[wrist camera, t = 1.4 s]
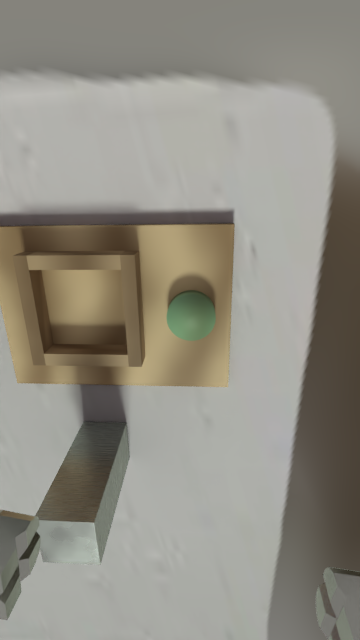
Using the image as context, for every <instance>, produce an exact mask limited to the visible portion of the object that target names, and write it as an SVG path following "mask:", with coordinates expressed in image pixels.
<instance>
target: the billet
mask: <svg viewBox="0 0 360 640" xmlns="http://www.w3.org/2000/svg"><path fill="white" fill-rule="evenodd" d="M129 458H130V456H129V444H128V433H127V423H120V422H83V424H82V426H81V428H80V430H79V432H78V434H77V436H76V438H75V440H74V442H73V444H72V446H71V447H70V449H69V451H68V453H67V455H66V457H65V459H64V461H63V463H62V465H61V467H60V469H59V471H58V473H57V475H56V477H55V479H54V481H53V483H52V485H51V487H50V488H49V490H48V492H47V494H46V496H45V498H44V500H43V502H42V504H41V506H40V508H39V510H38V512H37V514H36V517H39V527H38V529H37V531H36V532H37V533H38V534H39V535H40V539H41V543H40V550H41V555H42V559H43V562H52V563H71V564H90V565H101V561H102V557H103V554H104V550H105V546H106V542H107V539H108V535H109V531H110V528H111V524H112V520H113V517H114V513H115V509H116V506H117V502H118V498H119V495H120V491H121V487H122V484H123V480H124V476H125V472H126V469H127V465H128V461H129Z"/></svg>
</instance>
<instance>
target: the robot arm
mask: <svg viewBox="0 0 360 640" xmlns="http://www.w3.org/2000/svg"><path fill="white" fill-rule="evenodd" d="M38 527H39V517H36V516H31V515H26V514H20V513H15V512H10V511H5V510H0V619H3V620H8V618H9V616H10V614H11V612H12V609H13V607H14V605H15V603H16V601H17V599H18V597H19V595H20V593H21V583H20V582H21V581H22V580H23V579H24V578H26V577H27V576H28V575H29V574H30V573H31V571H32V569H33V567H34V565H35V563H36V560H37V557H38V554H39V550H40V543H41V539H40V535H39V534H38V533H37V532H36V531H37V529H38ZM323 577H324V580H325V582H324V583H323V584H321V585H319V587H318V590H317V593H316V612H317V619H318V623H319V627H320V629H321V630H322V632H323V633H324V635H325V636H326V637H327V639H328V640H360V572H357V571H351V570H344V569H338V568H332V567H328V568H326V569H325V571H324V574H323Z"/></svg>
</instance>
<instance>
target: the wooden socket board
mask: <svg viewBox="0 0 360 640" xmlns="http://www.w3.org/2000/svg"><path fill="white" fill-rule="evenodd" d="M233 249H234V223H226V224H138V225H49V226H0V304H1V309H2V313H3V318H4V323H5V327H6V332H7V337H8V341H9V346H10V350H11V355H12V360H13V364H14V369H15V374H16V378H17V383H42V384H95V385H149V386H202V387H228V375H229V350H230V325H231V299H232V274H233Z"/></svg>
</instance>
